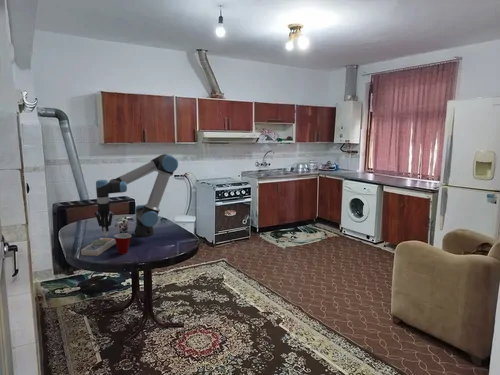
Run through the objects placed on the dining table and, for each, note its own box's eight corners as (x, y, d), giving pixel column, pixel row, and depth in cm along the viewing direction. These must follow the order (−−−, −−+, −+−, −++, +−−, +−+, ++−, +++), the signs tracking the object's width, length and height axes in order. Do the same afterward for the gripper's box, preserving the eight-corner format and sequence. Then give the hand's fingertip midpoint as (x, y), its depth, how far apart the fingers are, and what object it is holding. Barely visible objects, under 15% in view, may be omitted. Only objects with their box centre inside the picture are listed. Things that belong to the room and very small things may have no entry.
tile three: (99, 249, 226) (99, 245, 226) (95, 252, 220) (94, 249, 220) (91, 249, 227) (90, 245, 226) (86, 252, 221) (85, 248, 220)
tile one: (111, 241, 242) (111, 238, 242) (107, 244, 236) (107, 241, 236) (103, 241, 242) (103, 238, 242) (98, 244, 237) (98, 240, 236)
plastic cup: (135, 252, 226) (134, 235, 224) (120, 256, 218) (119, 238, 216) (126, 248, 233) (126, 231, 231) (111, 252, 225) (110, 235, 223)
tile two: (105, 242, 234) (105, 239, 233) (101, 245, 228) (101, 241, 228) (97, 242, 234) (97, 238, 234) (92, 244, 228) (92, 241, 228)
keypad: (116, 243, 244) (115, 238, 243) (97, 255, 219) (97, 250, 218) (101, 242, 244) (100, 237, 244) (81, 254, 220) (80, 249, 219)
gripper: (115, 201, 238) (117, 234, 242) (96, 201, 239) (99, 234, 243) (109, 204, 230) (112, 237, 235) (91, 203, 232) (94, 237, 236)
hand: (105, 235), depth 239 cm, fingers closed
